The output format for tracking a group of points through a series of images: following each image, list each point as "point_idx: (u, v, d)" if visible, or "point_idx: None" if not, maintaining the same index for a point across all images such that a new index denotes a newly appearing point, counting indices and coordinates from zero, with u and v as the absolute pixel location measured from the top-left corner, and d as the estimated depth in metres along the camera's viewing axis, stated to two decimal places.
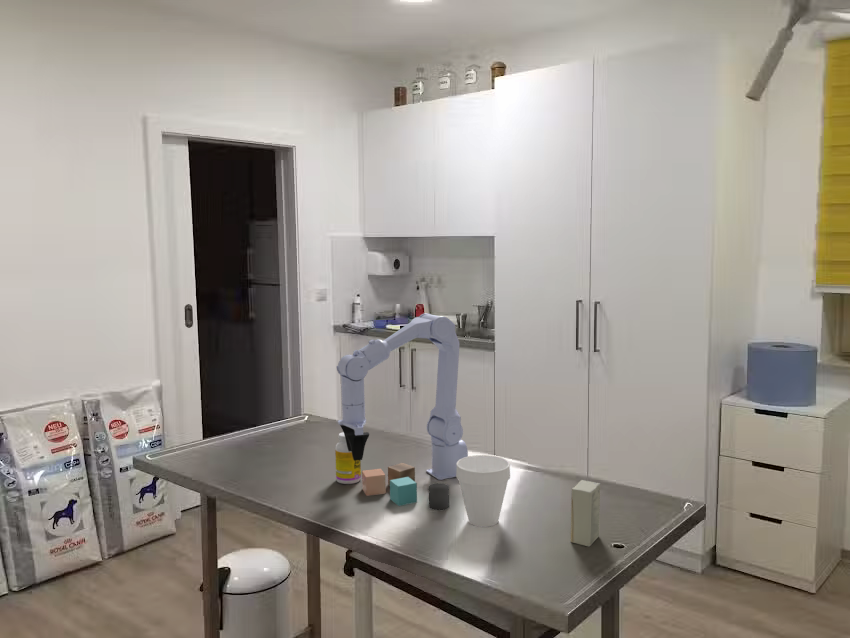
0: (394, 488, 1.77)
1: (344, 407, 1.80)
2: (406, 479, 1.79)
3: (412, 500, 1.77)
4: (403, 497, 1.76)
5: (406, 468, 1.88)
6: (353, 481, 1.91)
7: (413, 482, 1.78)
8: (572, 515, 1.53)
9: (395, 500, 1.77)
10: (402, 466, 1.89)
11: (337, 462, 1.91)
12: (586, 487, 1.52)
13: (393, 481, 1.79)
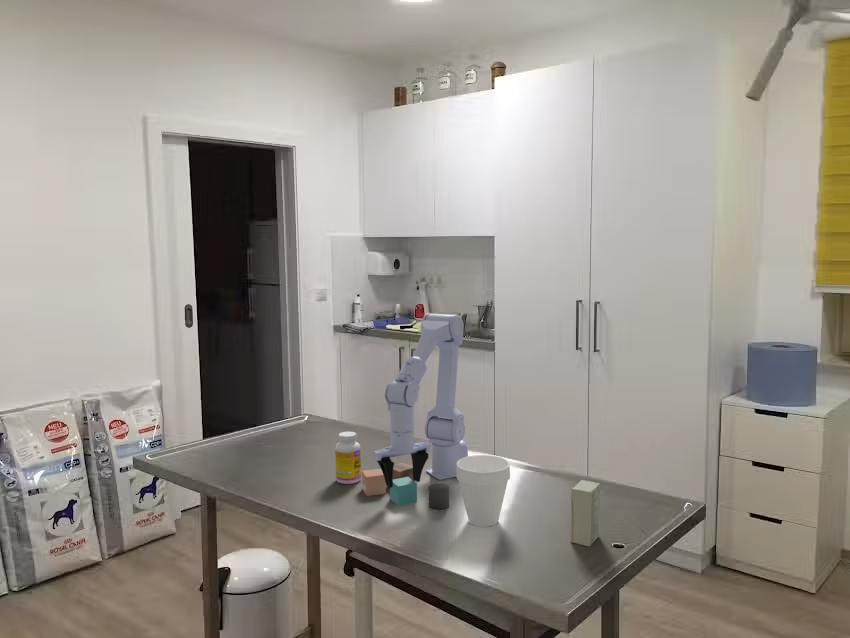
0: (394, 488, 1.77)
1: None
2: (406, 479, 1.79)
3: (412, 500, 1.77)
4: (403, 497, 1.76)
5: (406, 468, 1.88)
6: (353, 481, 1.91)
7: (413, 482, 1.78)
8: (572, 515, 1.53)
9: (395, 500, 1.77)
10: (402, 466, 1.89)
11: (337, 462, 1.91)
12: (586, 487, 1.52)
13: (393, 481, 1.79)
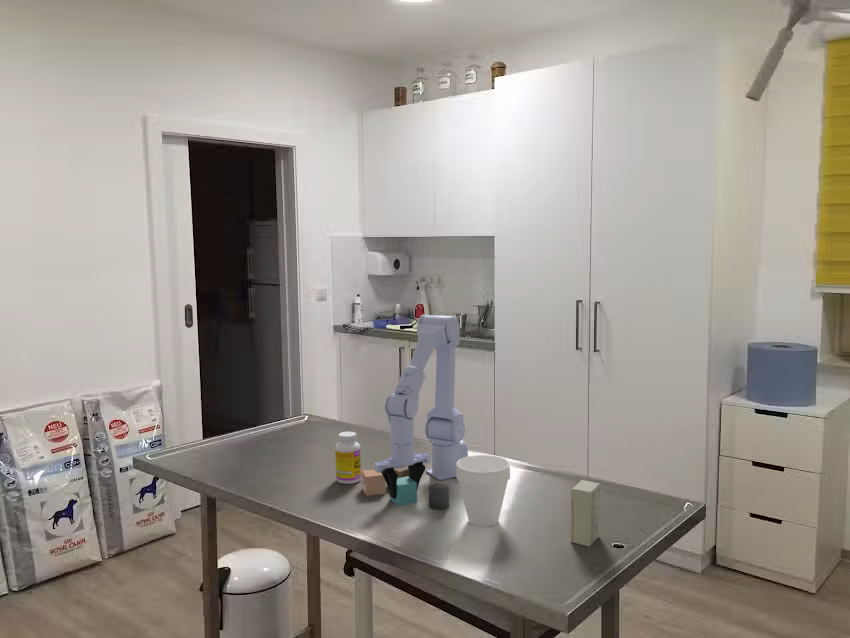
0: None
1: None
2: (406, 479, 1.79)
3: (412, 499, 1.77)
4: (403, 496, 1.76)
5: (406, 468, 1.88)
6: (353, 481, 1.91)
7: (413, 482, 1.78)
8: (572, 515, 1.53)
9: (395, 499, 1.77)
10: None
11: (337, 462, 1.91)
12: (586, 487, 1.52)
13: None
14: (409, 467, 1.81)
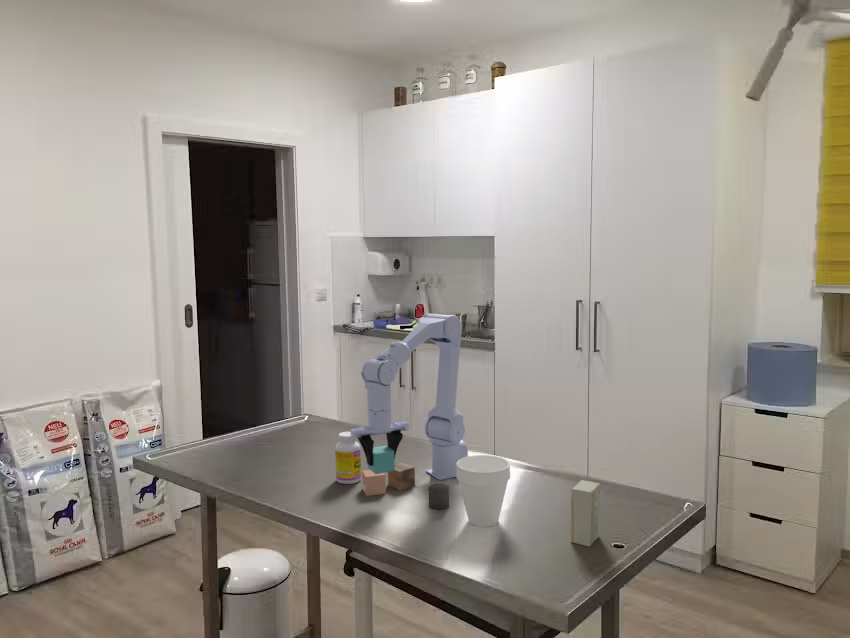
0: None
1: None
2: (384, 448, 1.78)
3: (389, 468, 1.76)
4: (380, 465, 1.74)
5: (406, 468, 1.88)
6: (353, 481, 1.91)
7: (390, 450, 1.76)
8: (572, 515, 1.53)
9: (372, 468, 1.76)
10: (402, 466, 1.89)
11: (337, 462, 1.91)
12: (586, 487, 1.52)
13: None
14: (387, 435, 1.79)
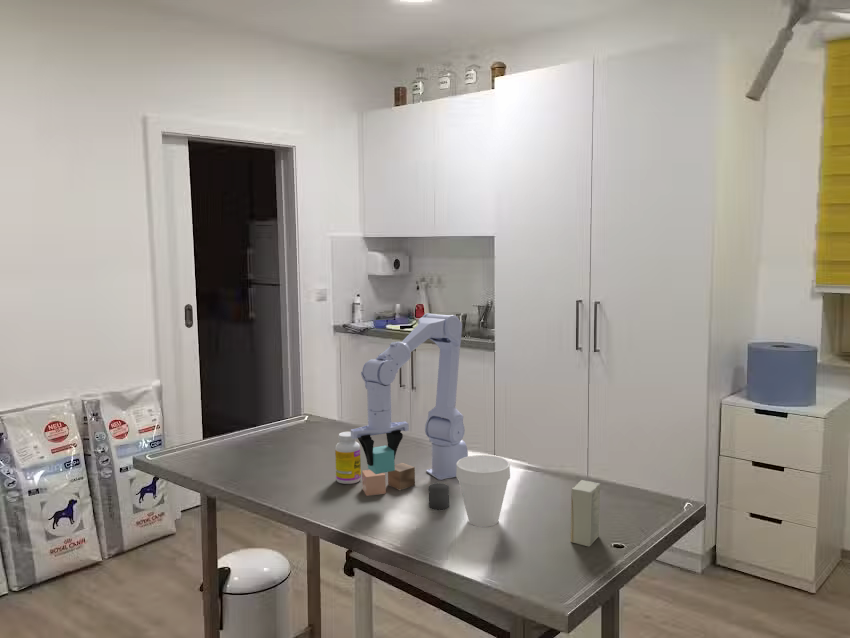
0: None
1: None
2: (384, 448, 1.78)
3: (389, 468, 1.76)
4: (380, 465, 1.74)
5: (406, 468, 1.88)
6: (353, 481, 1.91)
7: (390, 450, 1.76)
8: (572, 515, 1.53)
9: (372, 468, 1.76)
10: (402, 466, 1.89)
11: (337, 462, 1.91)
12: (586, 487, 1.52)
13: None
14: (387, 435, 1.79)
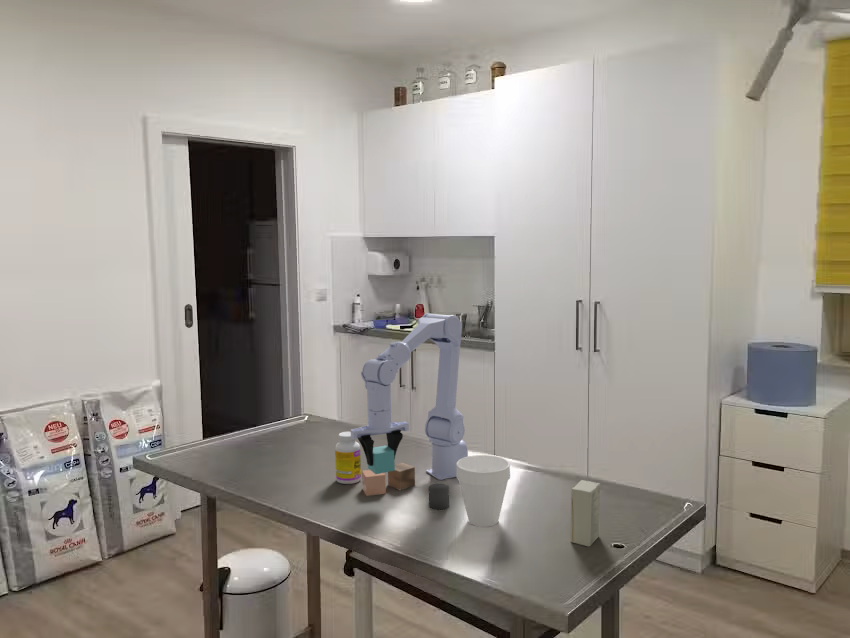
0: None
1: None
2: (384, 448, 1.78)
3: (389, 468, 1.76)
4: (380, 465, 1.74)
5: (406, 468, 1.88)
6: (353, 481, 1.91)
7: (390, 450, 1.76)
8: (572, 515, 1.53)
9: (372, 468, 1.76)
10: (402, 466, 1.89)
11: (337, 462, 1.91)
12: (587, 487, 1.52)
13: None
14: (387, 435, 1.79)
